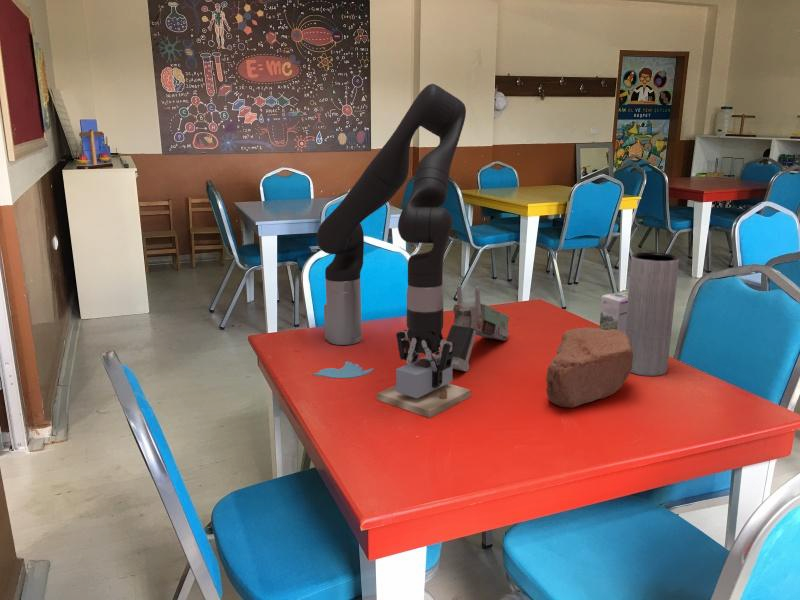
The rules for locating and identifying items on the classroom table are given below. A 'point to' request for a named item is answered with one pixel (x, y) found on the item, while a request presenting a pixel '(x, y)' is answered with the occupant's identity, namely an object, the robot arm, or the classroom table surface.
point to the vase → (651, 311)
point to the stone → (588, 366)
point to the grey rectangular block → (419, 379)
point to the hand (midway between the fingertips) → (424, 383)
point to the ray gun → (474, 327)
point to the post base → (426, 398)
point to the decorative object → (344, 371)
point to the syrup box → (613, 312)
